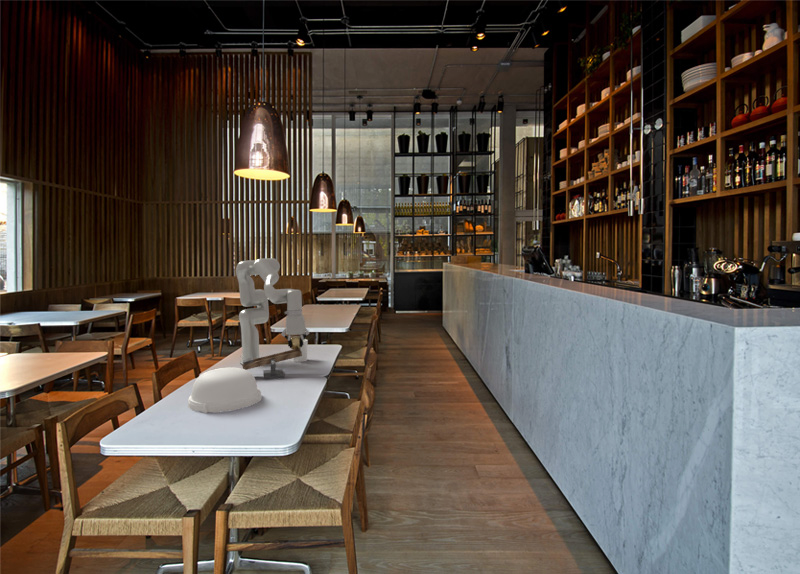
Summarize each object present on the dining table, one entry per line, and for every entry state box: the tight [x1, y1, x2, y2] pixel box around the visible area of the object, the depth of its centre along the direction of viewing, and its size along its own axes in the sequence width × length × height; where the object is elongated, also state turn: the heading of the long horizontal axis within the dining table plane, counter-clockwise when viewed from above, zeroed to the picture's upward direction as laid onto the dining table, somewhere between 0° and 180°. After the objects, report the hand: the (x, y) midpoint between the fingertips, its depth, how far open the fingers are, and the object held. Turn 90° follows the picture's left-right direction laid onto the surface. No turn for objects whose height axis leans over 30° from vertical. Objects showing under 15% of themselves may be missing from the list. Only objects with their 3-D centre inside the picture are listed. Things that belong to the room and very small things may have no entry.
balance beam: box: [241, 349, 302, 371], centre depth 253 cm, size 30×8×4 cm, turn 106°
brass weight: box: [290, 335, 301, 350], centre depth 256 cm, size 5×5×6 cm
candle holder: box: [291, 338, 309, 363], centre depth 286 cm, size 10×10×12 cm
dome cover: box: [187, 366, 262, 414], centre depth 209 cm, size 32×30×14 cm
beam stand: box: [262, 359, 285, 380], centre depth 253 cm, size 10×15×9 cm, turn 16°
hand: (295, 346), depth 256 cm, fingers closed on brass weight, 5 cm apart
